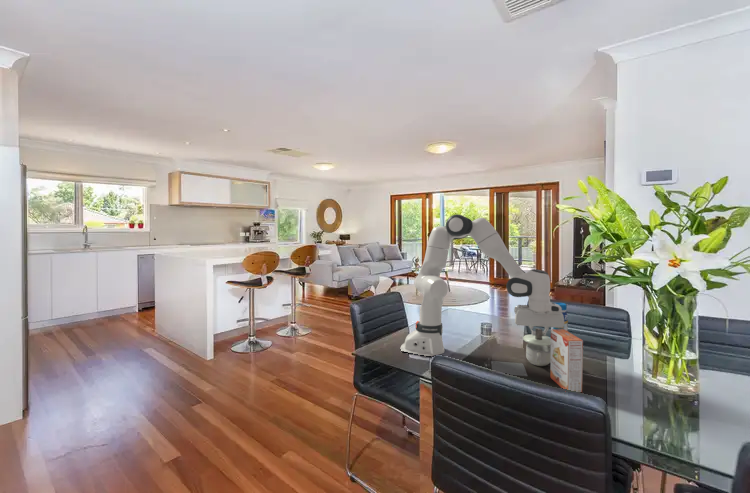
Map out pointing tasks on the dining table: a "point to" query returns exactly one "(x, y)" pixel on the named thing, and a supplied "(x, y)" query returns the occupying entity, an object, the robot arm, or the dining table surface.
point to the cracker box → (566, 360)
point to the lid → (537, 338)
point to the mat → (509, 368)
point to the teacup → (538, 354)
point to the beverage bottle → (564, 308)
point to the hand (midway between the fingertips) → (538, 335)
